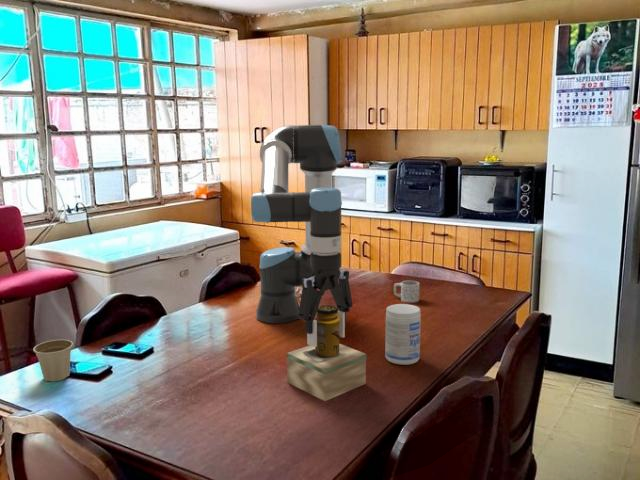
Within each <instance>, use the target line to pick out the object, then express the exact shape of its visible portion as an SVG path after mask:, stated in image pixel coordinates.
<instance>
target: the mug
mask: <svg viewBox="0 0 640 480" xmlns="http://www.w3.org/2000/svg"><path fill="white" fill-rule="evenodd" d="M397 287H400V293H398V292H397ZM393 294H394V295H395V296H397V297H398V298H400V301H401V302H403V303H408V304H409V303H410V304H411V303H412V304H414V303H418V302H419V301H420V282H419V281H416V280H403V281H401V282H396V283H394V285H393Z"/></svg>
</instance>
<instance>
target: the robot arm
mask: <svg viewBox="0 0 640 480" xmlns="http://www.w3.org/2000/svg"><path fill="white" fill-rule="evenodd" d="M341 148H342V147H341V142H340V134H339V130H338V128H337V127H336V126H334V125H328V124H327V125H326V124H309V125H307V124H305V125H303V124H301V125H299V124H298V125H293V124H292V125H290V124H289V125H284V126H281V127H278V128H277V129H275V130H274V131H272V132H270V133H269V134H268V135H267V136H266V137H265V138H264V140H263V141H262V143H261V145H260V149H259V159H260V162H261V163H262V166H261V177H260V189H259V190H260V191H259V192H256V193H255V192H254V193H252V195H251V197H250V213H251V219H252V220H253V222H255V223H266V224H269V223H305V224H304V225H305V232H304V234H305V243H304V244H303V245H301V248H300V250H301V251H299V252H298V251H297V252H296V250H295V249H294V247H290V246H289V247H286V246H283V247H276V248H271V249H268V250H266V251H263V252H262V253H261V254H260V257H259V269H260V270H259V271H260V273H259V275H260V277H259V278H260V296H259V300H258V303H257V304H258V305H257V308H256V311H255V317H256V319H257V320H258V321H260V322H262V323H268V324H284V323H285V324H286V323H290V322H294V321H297V320H299V319H300V320H303V321H304V323H305V325H304V330H305V333H306V337H307V338H306V341H307V342H306V343H307V346H309V345H310V346H313V347H317V321H316V320H315V319H316V316H317V309H318V307H319V306H320V303H321V300H322V297H323V296H324V295H325V292H326V291H328V290H329V291H330V293H331V296H332V297H333V298H332V299H333V300H334V303H335V306H336V307H337V308H338V318H339V322H340V324H339V338H345V337H346V335H345V333H346V332H345V331H346V330H345V328H346V322H347V313H349V312H350V310H351V309H350V308H353V299H352V292H351V287H350V280H349V277H350V272H349V270H344V269H341V267H342V253H341V251H342V206H343V201H342V192H341V190H340V189H339V188H336V187H333V174H334V172H335V171H336V170H338V169H337V168H338V165H339V164H340V163H342V161H343V160H342V150H341ZM289 164H299V170H300V171H302V173H304V191H302V192H292V191H291V192H289ZM296 287H297V288H299V287H301V288H302V289H301V294H300V295H301V296H300V301H298V299H297V296H296Z"/></svg>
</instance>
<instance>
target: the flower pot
mask: <svg viewBox="0 0 640 480" xmlns="http://www.w3.org/2000/svg"><path fill="white" fill-rule="evenodd" d="M73 345H74V343H73V341H72V340H69V339H53V340H47V341H44V342H41V343H39V344H36V345H35V346H34V347H33V349H32V350H33V353H35V355H36V357H37V360H38V362H39V363H38V364H39V365H40V366H39V367H40V370H41V374H42V377H43V380H44V381H46V382H52V383H53V382H60V381H64V380H65V379H66V378H67V377H69V376H70V371H71V370H70V369H71V352H72V347H73Z"/></svg>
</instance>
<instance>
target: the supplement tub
mask: <svg viewBox="0 0 640 480" xmlns="http://www.w3.org/2000/svg"><path fill="white" fill-rule="evenodd" d="M385 310H386V313H385V348H384V349H385V352H384V355H385V358H386V360H387V361H388V362H390V363H391V364H394V365H403V366H404V365H405V366H407V365H413V364H415V363H417V362H418V361H419V360H420V355H421V354H420V352H421V351H420V350H421V318H422V316H421V315H422V314H421V308H420V307H419V306H416V305H414V304H413V305H412V304H409V303H408V304H406V303H397V304H391V305H389V306H387V307H386V309H385Z"/></svg>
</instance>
